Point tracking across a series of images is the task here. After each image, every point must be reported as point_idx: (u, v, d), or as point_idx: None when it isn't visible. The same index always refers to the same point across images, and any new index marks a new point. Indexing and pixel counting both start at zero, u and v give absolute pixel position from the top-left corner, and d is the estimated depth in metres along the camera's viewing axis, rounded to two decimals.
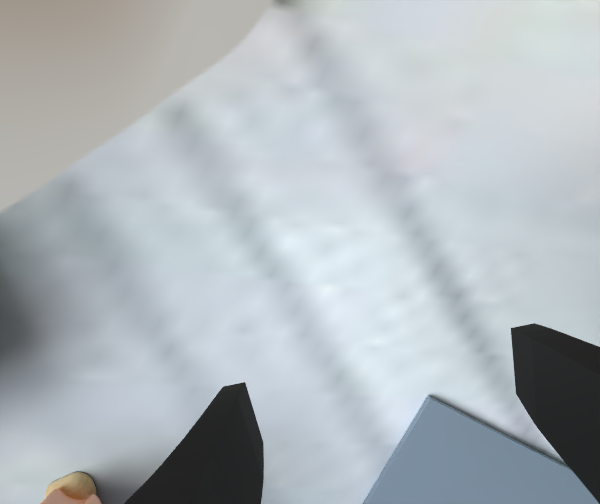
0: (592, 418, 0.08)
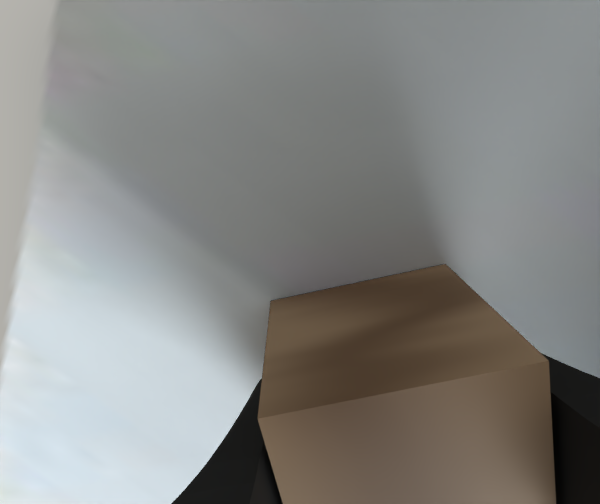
0: None
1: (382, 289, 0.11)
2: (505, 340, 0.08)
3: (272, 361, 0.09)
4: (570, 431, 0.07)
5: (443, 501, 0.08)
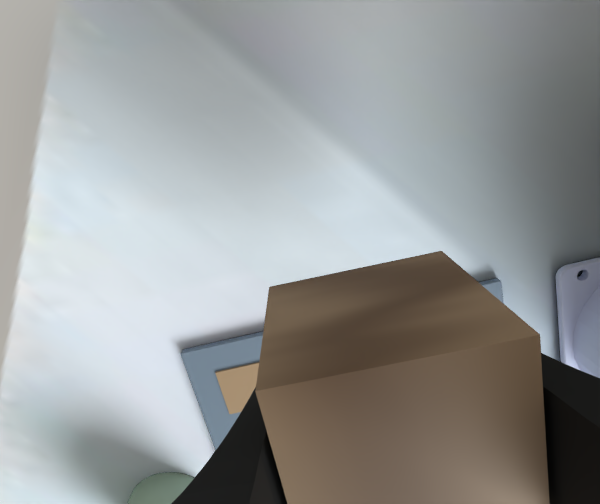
0: None
1: (379, 274, 0.11)
2: (498, 317, 0.08)
3: (270, 340, 0.09)
4: (570, 431, 0.07)
5: (437, 475, 0.08)
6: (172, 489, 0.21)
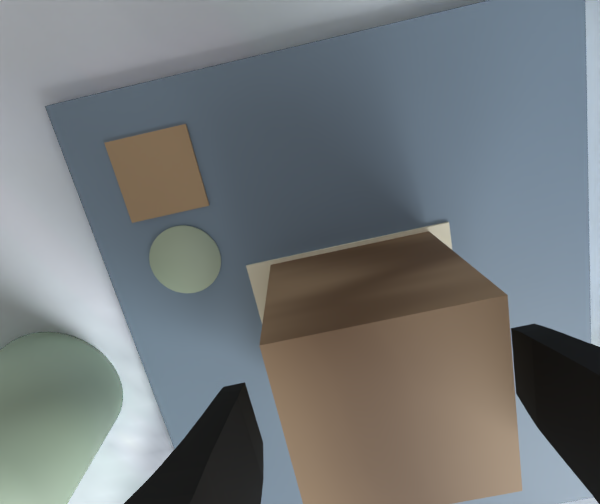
0: (592, 419, 0.08)
1: (371, 252, 0.12)
2: (473, 283, 0.09)
3: (272, 307, 0.10)
4: None
5: (419, 422, 0.09)
6: (43, 349, 0.13)
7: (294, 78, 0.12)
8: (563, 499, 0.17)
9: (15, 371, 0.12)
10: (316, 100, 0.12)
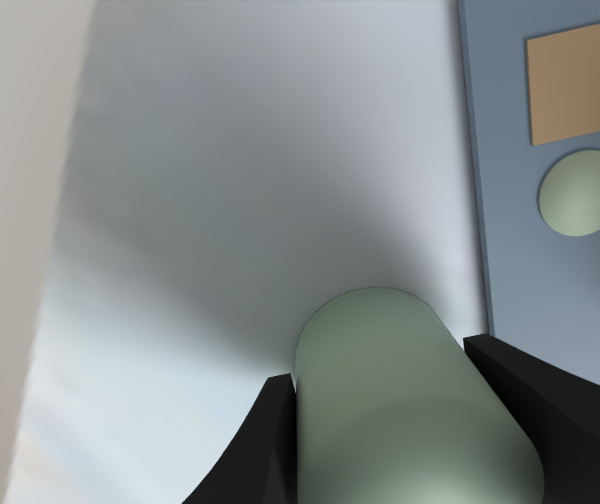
0: (529, 431, 0.08)
1: None
2: None
3: None
4: (558, 433, 0.07)
5: None
6: (403, 305, 0.11)
7: None
8: None
9: (411, 326, 0.10)
10: None
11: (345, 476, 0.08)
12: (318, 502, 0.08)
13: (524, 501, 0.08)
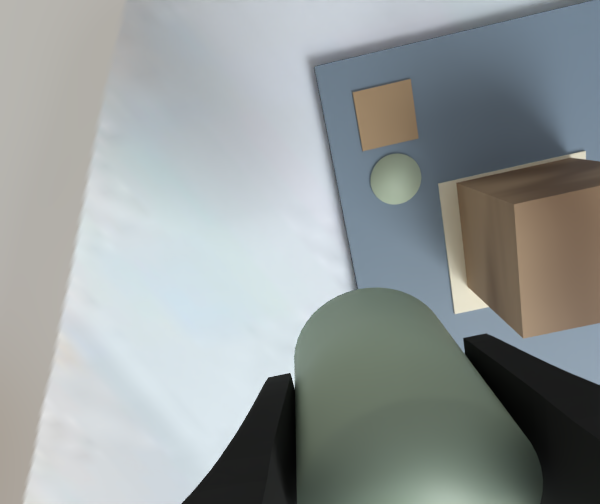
0: (529, 431, 0.08)
1: (536, 169, 0.18)
2: None
3: (494, 194, 0.16)
4: (558, 433, 0.07)
5: None
6: (402, 305, 0.11)
7: (488, 46, 0.17)
8: None
9: (410, 326, 0.10)
10: (501, 62, 0.17)
11: (344, 476, 0.08)
12: (317, 502, 0.08)
13: (523, 501, 0.08)
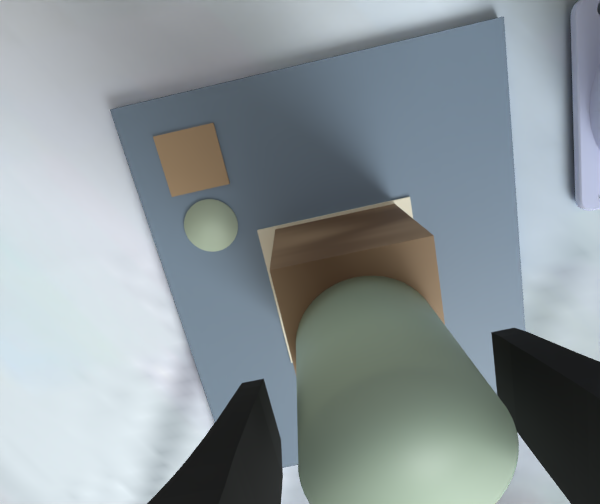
0: (566, 423, 0.08)
1: (350, 218, 0.17)
2: (415, 230, 0.13)
3: (277, 251, 0.15)
4: None
5: None
6: (395, 291, 0.12)
7: (293, 89, 0.16)
8: None
9: (402, 308, 0.11)
10: (309, 105, 0.16)
11: (340, 438, 0.09)
12: (316, 462, 0.09)
13: (501, 462, 0.09)
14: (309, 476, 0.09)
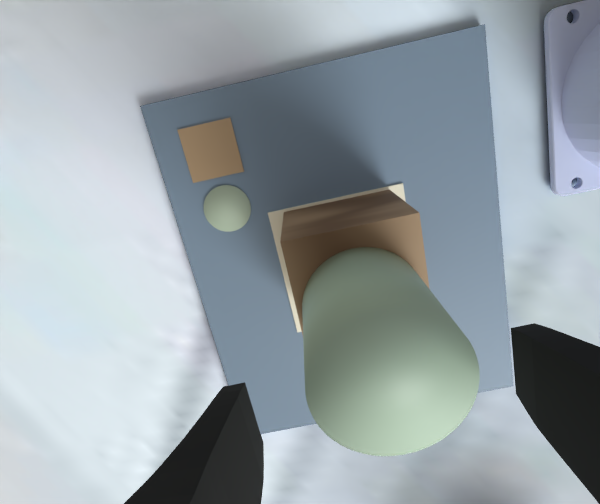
0: (592, 419, 0.08)
1: (350, 201, 0.19)
2: (404, 209, 0.16)
3: (286, 228, 0.17)
4: None
5: None
6: (386, 258, 0.14)
7: (300, 88, 0.18)
8: (492, 388, 0.23)
9: (390, 270, 0.13)
10: (314, 102, 0.19)
11: (338, 364, 0.11)
12: (319, 384, 0.11)
13: (465, 385, 0.11)
14: (313, 396, 0.11)
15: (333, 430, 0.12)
